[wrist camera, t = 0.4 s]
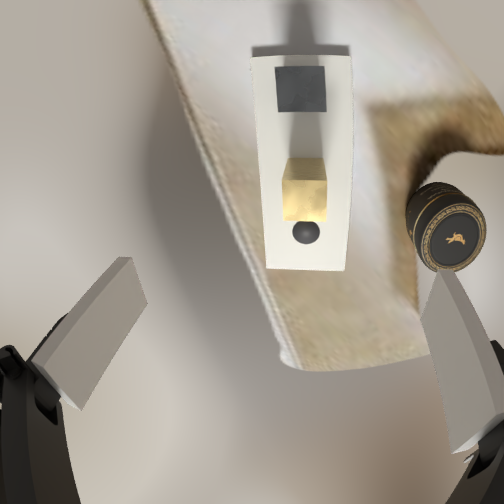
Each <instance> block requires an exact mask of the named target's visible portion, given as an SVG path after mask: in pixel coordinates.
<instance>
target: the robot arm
mask: <svg viewBox="0 0 504 504" xmlns="http://www.w3.org/2000/svg"><path fill="white" fill-rule="evenodd" d="M147 304H148V303H147V300H146V298H145V295H144V292H143V290H142V286H141V283H140V281H139V278H138V275H137V272H136V269H135V266H134V262H133V259H132V258H131V257H118V258H117V259H116V261H115V262H114V263H113V264H112V265H111V266H110V267H109V268H108V269H107V270H106V271H105V272H104V273H103V274H102V276H101V277H100V278H99V279H98V280H97V281H96V282H95V283H94V284H93V285H92V286H91V288H90V289H89V290H88V291H87V292H86V293H85V294H84V296H83V297H82V298H81V299H80V300H79V301H78V303H77V304H76V305H75V306H74V307H73V308H72V309H71V311H70V312H69V313H67V314H66V315H64V316H63V317H62V318H60V319H59V320H58V321H57V323H56V324H55V325H54V326H53V328H52V330H50V331H49V333H48V334H47V336H45V337H44V339H43V340H42V341H41V343H40V344H39V345H38V346H37V348H36V349H35V350H34V352H33V353H32V354H31V356H30V357H29V358H28V360H27V361H26V362H25V361H24V360H23V358H22V357H21V356H20V354H19V353H18V352H17V350H16V349H15V348H14V346H12V345H6V346H4V347H2V348H1V349H0V403H2V410H1V409H0V504H81V502H80V498H79V495H78V492H77V488H76V484H75V480H74V476H73V471H72V467H71V462H70V458H69V452H68V447H67V441H66V435H65V428H64V421H63V412H62V406H61V403H60V402H59V399H60V397H62V398H63V399H64V400H65V401H66V402H67V403H68V404H69V405H70V406H72V407H74V408H76V409H78V410H81V411H82V409H83V407H84V406H85V404H86V402H87V400H88V399H89V397H90V395H91V394H92V392H93V390H94V388H95V387H96V385H97V383H98V382H99V380H100V378H101V377H102V375H103V373H104V371H105V370H106V368H107V367H108V365H109V363H110V362H111V360H112V359H113V357H114V355H115V354H116V352H117V351H118V349H119V347H120V346H121V344H122V343H123V341H124V339H125V338H126V336H127V335H128V333H129V332H130V330H131V328H132V327H133V325H134V324H135V322H136V321H137V319H138V318H139V316H140V315H141V313H142V312H143V310H144V308H145V307H146V306H147ZM420 320H421V323H422V326H423V329H424V332H425V335H426V339H427V342H428V345H429V349H430V352H431V356H432V359H433V363H434V366H435V371H436V375H437V379H438V383H439V387H440V392H441V396H442V401H443V406H444V411H445V416H446V422H447V428H448V434H449V441H450V448H451V454H453V453H457V452H461V451H465V450H468V449H470V448H471V447H473V446H474V445H475V444H476V443H478V445H479V449H478V450H476V451H475V452H474V453H472V454H471V455H470V456H468V457H467V458H466V459H465V460H464V462H465V463H466V462H468V461H469V460H470V459H472V460H471V462H470V463H469V465H468V467H467V469H466V471H465V473H464V474H463V476H462V478H461V480H460V481H459V483H458V485H457V486H456V488H455V489H454V491H453V493H452V494H451V496H450V498H449V499H448V500H447V502H446V503H445V504H504V349H503V348H502V347H501V345H500V344H499V343H498V342H497V341H496V340H493V341H490V340H489V338H488V336H487V334H486V332H485V329H484V327H483V325H482V323H481V321H480V319H479V317H478V315H477V313H476V311H475V309H474V307H473V305H472V303H471V301H470V300H469V298H468V296H467V294H466V292H465V290H464V288H463V287H462V285H461V283H460V281H459V280H458V278H457V276H456V274H455V273H454V271H453V270H442V269H438V270H437V274H436V277H435V280H434V283H433V286H432V289H431V292H430V295H429V298H428V301H427V303H426V306H425V309H424V312H423V314H422V317H421V319H420Z"/></svg>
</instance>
